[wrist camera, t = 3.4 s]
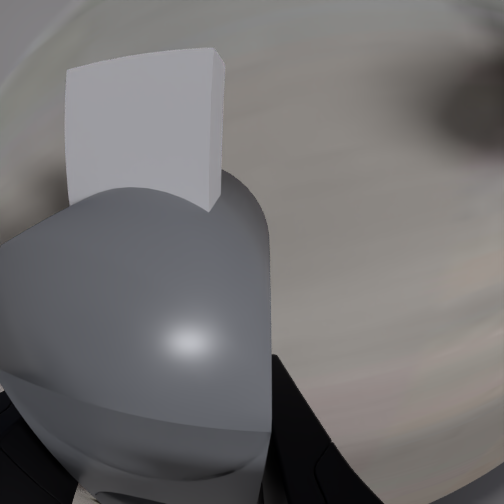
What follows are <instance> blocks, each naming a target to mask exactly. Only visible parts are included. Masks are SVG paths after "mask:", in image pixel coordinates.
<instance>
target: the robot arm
mask: <svg viewBox="0 0 504 504" xmlns="http://www.w3.org/2000/svg"><path fill="white" fill-rule="evenodd" d="M271 356H272V425H271V436H270V441H269V447H268V452H267V457H266V462H265V467H264V472H263V477H262V482H261V487H260V492H259V496H258V501H257V504H384V503H383V502H382V501H381V500H380V499H379V498H378V497H377V496H376V495H375V494H374V493H373V491H372V490H371V489H370V488H369V487H368V486H367V485H366V484H365V483H364V482H363V481H362V480H361V479H360V477H359V476H358V475H357V474H356V473H355V472H354V470H353V469H352V468H351V467H350V466H349V464H348V463H347V461H346V460H345V459H344V457H343V456H342V455H341V453H340V452H339V450H338V449H337V447H336V446H335V444H334V443H333V442H331V441H332V440H331V438H330V437H329V435H328V434H327V432H326V431H325V429H324V428H323V426H322V425H321V423H320V422H319V420H318V419H317V417H316V416H315V414H314V412H313V411H312V409H311V408H310V406H309V405H308V403H307V402H306V400H305V398H304V397H303V395H302V394H301V392H300V391H299V389H298V388H297V386H296V384H295V383H294V381H293V380H292V378H291V376H290V375H289V373H288V372H287V370H286V368H285V367H284V365H283V364H282V362H281V360H280V359H279V357H278V356H277V355H275V354H271ZM77 486H78V481H77V480H76V479H75V478H74V477H73V476H72V475H71V474H70V473H69V472H68V471H67V470H66V469H65V468H64V467H63V466H62V465H61V464H60V463H59V461H58V460H57V459H56V458H55V457H54V456H53V455H52V454H51V452H50V451H49V450H48V449H47V448H46V447H45V445H44V444H43V443H42V442H41V440H40V439H39V438H38V437H37V435H36V434H35V433H34V432H33V430H32V429H31V428H30V426H29V425H28V424H27V422H26V421H25V420H24V418H23V417H22V415H21V414H20V413H19V411H18V410H17V408H16V407H15V405H14V404H13V402H12V401H11V399H10V398H9V396H8V395H7V393H6V392H5V390H4V391H3V392H1V393H0V504H72V502H73V498H74V495H75V492H76V489H77Z"/></svg>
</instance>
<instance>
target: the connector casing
mask: <svg viewBox="0 0 504 504" xmlns="http://www.w3.org/2000/svg"><path fill="white" fill-rule="evenodd" d="M224 81H225V63H224V62H223V60H222V59H221V57H220V56H219V54H218V53H217V51H216V50H215V48H214V47H213V48H193V49H180V50H169V51H160V52H152V53H145V54H138V55H132V56H126V57H120V58H115V59H110V60H105V61H100V62H96V63H92V64H87V65H83V66H79V67H76V68H72V69H68V70H67V76H66V92H65V155H66V172H67V185H68V195H69V204H70V207H68V208H66V209H64V210H62V211H60V212H58V213H56V214H54V215H52V216H50V217H49V218H47V219H45V220H43V221H41V222H40V223H38V224H36V225H34V226H32V227H31V228H29V229H27V230H26V231H24V232H22V233H20V234H19V235H17V236H15V237H14V238H12V239H10V240H9V241H7V242H6V243H4V244H2V245H1V246H0V384H1V385H2V387H3V388H4V390H5V392H6V393H7V395H8V396H9V398H10V399H11V401H12V402H13V404H14V405H15V407H16V408H17V410H18V411H19V413H20V414H21V415H22V417H23V418H24V420H25V421H26V422H27V424H28V425H29V426H30V428H31V429H32V430H33V432H34V433H35V434H36V435H37V437H38V438H39V439H40V440H41V442H42V443H43V444H44V445H45V447H46V448H47V449H48V450H49V451H50V452H51V454H52V455H53V456H54V457H55V458H56V459H57V460H58V461H59V463H60V464H61V465H62V466H63V467H64V468H65V469H66V470H67V471H68V472H69V473H70V474H71V475H72V476H73V477H74V478H75V479H76V480H77V481H78V482H79V483H80V484H81V485H82V486H83V487H84V488H85V489H86V490H87V491H88V492H89V493H90V494H91V495H92V496H94V497H95V498H96V499H97V500H98V501H99V502H100V503H102V504H257V501H258V496H259V492H260V487H261V482H262V477H263V472H264V467H265V462H266V457H267V452H268V447H269V441H270V436H271V425H272V356H271V289H270V245H269V231H268V226H267V222H266V219H265V216H264V213H263V211H262V209H261V207H260V205H259V203H258V202H257V200H256V198H255V197H254V195H253V194H252V193H251V192H250V191H249V189H248V188H247V187H246V186H245V185H244V184H243V183H242V182H240V181H239V180H238V179H237V178H235V177H234V176H232V175H231V174H230V173H228V172H226V171H224V170H222V169H221V162H222V129H223V103H224Z"/></svg>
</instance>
